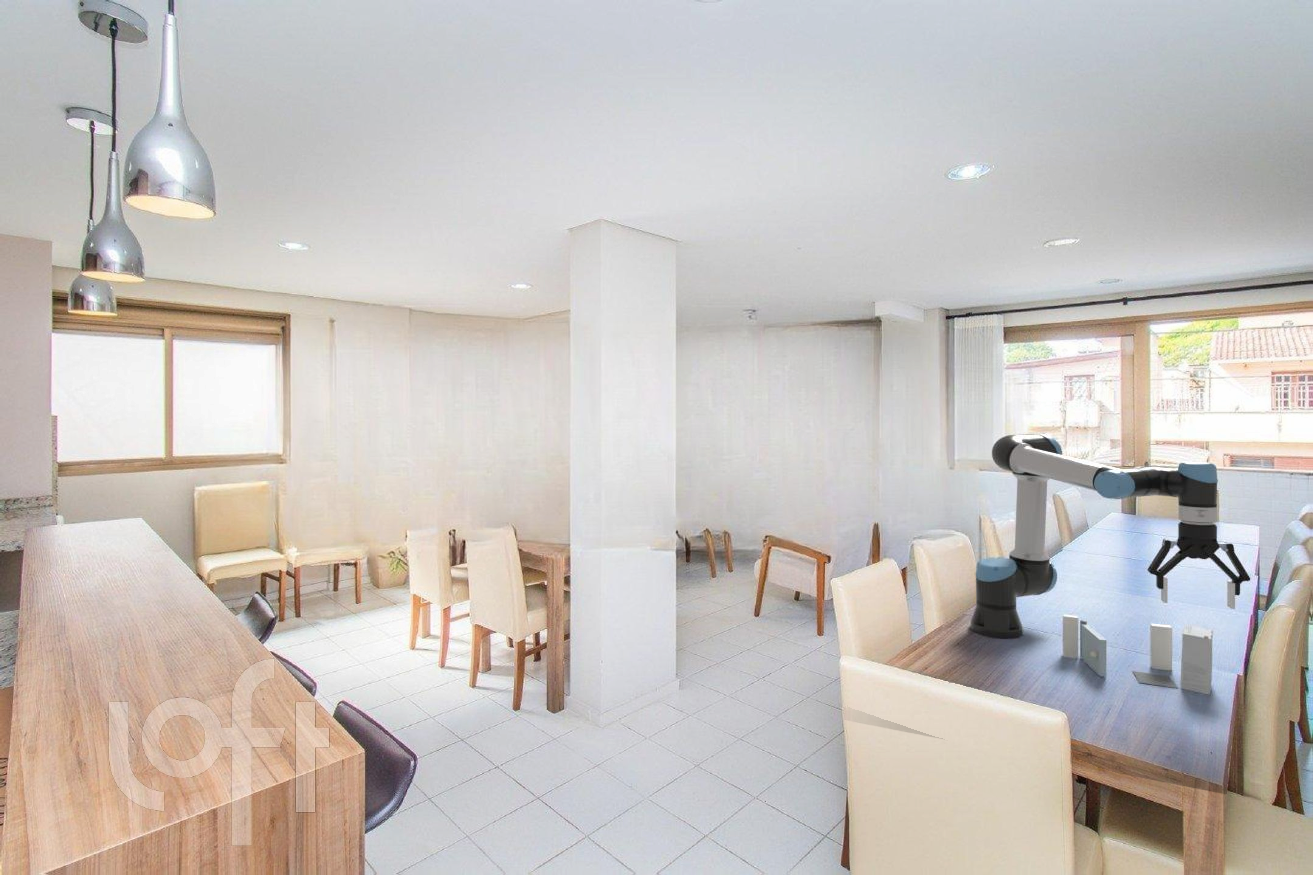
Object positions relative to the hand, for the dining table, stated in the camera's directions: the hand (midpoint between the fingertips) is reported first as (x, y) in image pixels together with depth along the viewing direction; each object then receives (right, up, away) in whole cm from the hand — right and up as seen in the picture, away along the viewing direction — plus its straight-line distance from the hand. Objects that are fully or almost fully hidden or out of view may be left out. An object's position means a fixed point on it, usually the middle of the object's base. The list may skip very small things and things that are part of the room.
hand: (1197, 604), depth 161 cm
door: (-17, -21, +15) cm, 31 cm away
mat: (-7, -22, +5) cm, 23 cm away
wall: (-8, -21, +17) cm, 29 cm away
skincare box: (+1, -22, +1) cm, 22 cm away
